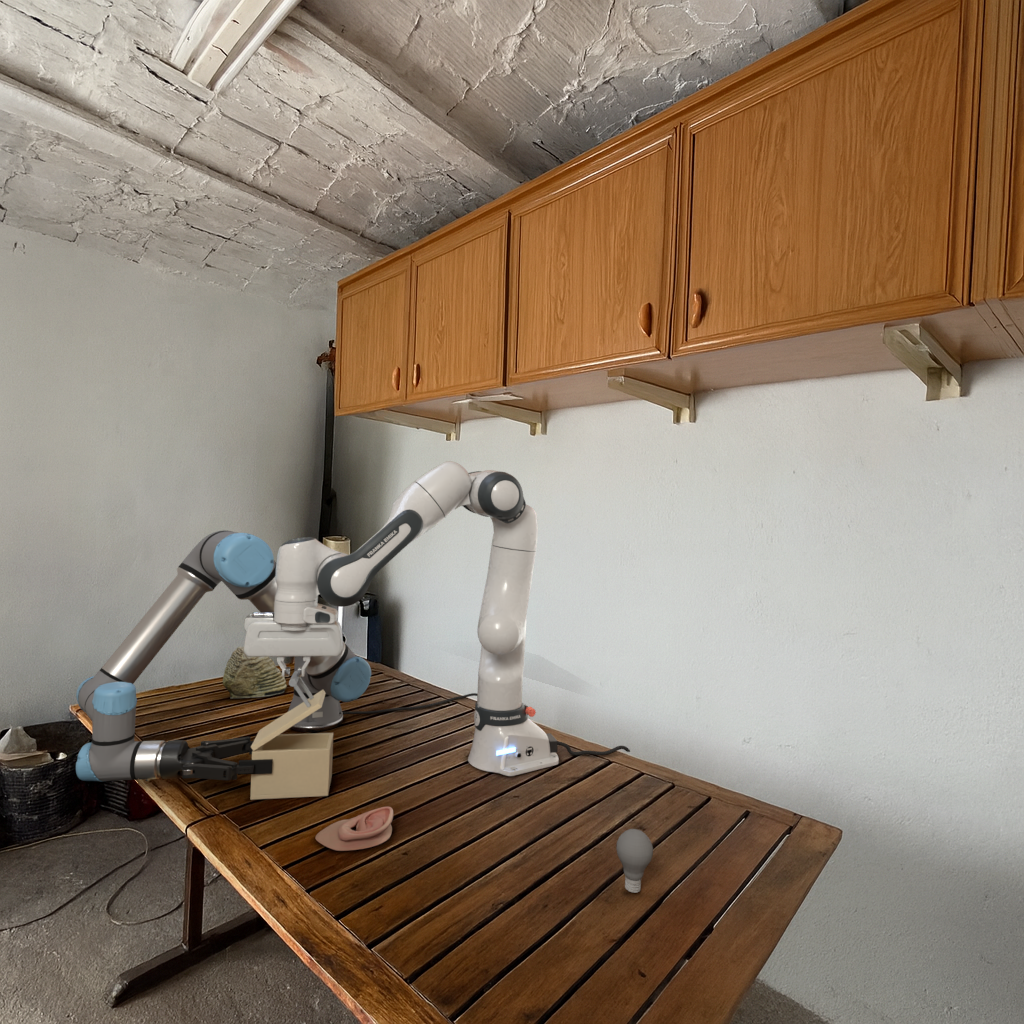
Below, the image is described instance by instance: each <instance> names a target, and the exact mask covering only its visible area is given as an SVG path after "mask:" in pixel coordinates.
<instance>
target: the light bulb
mask: <svg viewBox="0 0 1024 1024" xmlns="http://www.w3.org/2000/svg"><path fill="white" fill-rule="evenodd" d="M615 849H616V854H617V857H618V859H619V861H620V863H621V865H622V867H623V873H624V874H623V875H624V876H625V878H624V888H625V890H627V891H628V892H630V893H634V894H635V893H639V892H640V891H641V889H642V887H641V886H642V879H643V877H644V875H645V871H646V868H647V867H648V866H649V864H650V863H651V861H652V859H653V855H654V847H653V843H652V841H651V838H649V836H648V835H647V834H646V833H645V832H643V831H642V830H641V829H636V828H629V829H627V830H625V831H623V832H622V833H621V834H620V835H619V837H618V839H617V841H616V847H615Z"/></svg>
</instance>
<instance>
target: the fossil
mask: <svg viewBox="0 0 1024 1024" xmlns="http://www.w3.org/2000/svg"><path fill="white" fill-rule="evenodd" d="M222 676H223V677H222V685H223V687H224V688H225V690H226V691H228V693H229V698H230V699H250V698H264V697H271V696H275V695H281V694H284V693H285V691H286V689H287V687H288V686H287V680H286V677H282V671H281V669H279V668H278V667H277V665H276V663H275V662H274V660H273V659H272V657H248V656H246V654H245V653H244V646H238V647H237V648H236V649H235V650H233V651H232V653H231V656H230V657H229V659H228V660H227V663H226V666H225V668H224V671H223V675H222Z"/></svg>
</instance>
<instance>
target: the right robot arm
mask: <svg viewBox="0 0 1024 1024" xmlns="http://www.w3.org/2000/svg"><path fill="white" fill-rule="evenodd" d="M461 507H463V508H464V509H465V510H467V511H469V512H471V513H473V514H477V515H479V516H481V517H486V518H490V520H491V522H492V526H493V534H492V540H491V547H490V554H489V561H488V568H487V573H486V574H487V575H486V579H485V585H484V589H483V595H482V599H481V600H482V601H481V605H480V611H479V615H478V616H479V617H478V622H477V628H476V629H477V631H476V632H477V638H478V640H479V643H480V646H481V647H480V657H479V664H478V671H477V672H478V674H477V676H478V677H477V696H476V697H477V698H476V702H475V704H474V713H473V720H474V721H473V722H474V723H473V724H474V733H473V739H472V743H471V747H470V751H469V754H468V757H467V762H468V763H469V764H470V765H471V766H472V767H473V768H475V769H478V770H480V771H484V772H487V773H488V772H489V773H496V774H500V775H503V776H506V777H515V776H519V775H523V774H526V773H531V772H535V771H537V770H542V769H546V768H550V767H553V766H558V765H559V763H560V759H559V755H558V754H557V753H558V747H559V746H561V747H564V748H565V749H566V751H567V753H568V754H569V755H571V756H576V757H577V756H583V755H593V756H607V755H608V756H609V755H610V754H614V753H615V752H617V751H619V750H623V751H625V752H626V753H630V752H631V749H630V748H628V747H627V746H625V745H618V746H615V747H613V748H611V749H609V750H604V751H598V750H597V751H596V750H579V751H573V750H572V749H571V747H570V745H568V744H567V743H565V742H562V741H559V740H557V738H555V736H554V735H553V734H552V733H551V732H550V733H549V732H548V733H546V732H545V730H544V729H542V728H541V727H540V726H539V725H538V724H536V722H534V721H533V720H531V719H530V718H534V717H535V715H536V713H537V712H536V709H535V708H533V707H532V706H529V705H528V704H526V703H524V702H523V687H524V684H523V683H524V667H525V654H526V653H525V652H526V638H527V637H526V636H527V614H528V607H529V600H530V594H531V588H532V583H533V575H534V568H535V561H536V554H537V546H538V528H539V525H538V524H539V523H538V514H537V512H536V510H535V509H534V508H533V507H532V506H530V505H528V504H527V503H526V499H525V497H524V491H523V488H522V485H521V483H520V482H519V480H518V479H517V478H516V477H515V476H514V475H512V474H510V473H508V472H506V471H500V470H493V469H488V470H487V469H486V470H483V471H481V470H478V471H477V470H476V471H471V472H468V470H467V469H466V468H465V467H464V466H463V465H461V464H460V463H458V462H457V461H453V460H446V461H444V462H442V463H439V464H438V465H436V466H434V467H433V468H431V469H429V470H428V471H426V472H424V474H421V476H419V477H417V479H415V480H414V481H413V482H411V483H410V484H409V485H408V486H407V487H406V488H405V489H404V490H403V491H402V492H401V493H400V494H399V495H398V496H397V498H396V499H395V500H394V501H393V503H392V506H391V511H390V513H389V517H388V519H387V521H386V522H385V523H384V524H383V526H382V527H381V528H380V529H379V530H378V531H376V533H375V534H373V536H371V537H370V538H369V539H368V540H367V541H366V542H365V543H363V544H362V545H361V546H360V547H359V548H358V549H357V550H355V551H354V552H351V553H349V554H348V553H346V552H342V551H339V550H336V549H333V548H331V547H329V546H328V545H325V544H324V543H322V542H321V541H319V540H318V539H317V538H315V537H311V536H306V537H305V536H304V537H296V538H292V539H288V540H285V541H284V542H283V543H282V544H281V545H280V546H279V548H278V551H277V555H276V561H275V562H276V575H275V580H276V583H277V592H276V595H275V602H274V612H264V613H261V612H260V611H254V612H252V613H250V614H248V615H247V616H246V617H245V618H244V621H243V629H244V631H245V637H244V644H243V647H244V653H245V654H246V656H248V657H269V658H273V657H276V663H277V664H278V666H279V667H280V670H281V673H282V677H285V678H290V676H291V666H287V664H286V662H285V659H286V657H294V656H303V661H305V663H304V665H303V666H302V667H298V669H297V677H304V676H305V668H306V666H307V665H308V663H309V662H310V660H311V656H339V655H340V654H341V653H342V651H343V641H344V638H343V637H344V636H343V629H342V625H341V623H340V622H339V621H338V618H339V611H338V609H336V608H334V607H342V608H343V607H349V606H352V605H354V604H356V603H358V602H359V601H360V600H361V599H362V598H363V597H364V596H365V594H366V593H367V591H368V589H369V587H370V585H371V583H372V581H373V579H374V578H375V577H376V575H377V574H378V573H379V572H380V571H381V570H382V569H383V568H385V566H386V565H387V564H388V563H390V562H391V561H392V560H393V559H394V558H395V557H396V556H397V555H398V554H400V552H402V551H403V550H404V549H405V548H406V547H408V545H410V544H411V543H412V542H414V541H416V539H418V538H420V537H421V536H423V535H425V533H428V532H429V531H431V530H432V529H433V528H435V527H436V526H437V525H439V524H440V523H441V522H442V521H444V520H445V519H446V518H447V517H448V516H449V515H450V514H452V513H453V511H455V510H456V509H458V508H461ZM319 595H320V596H321V598H322V600H324V601H325V602H326V603H327V604H330V605H332V606H334V607H331V606H328V605H325V604H322V603H318V601H319ZM529 717H530V718H529Z"/></svg>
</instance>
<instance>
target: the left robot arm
mask: <svg viewBox="0 0 1024 1024" xmlns="http://www.w3.org/2000/svg"><path fill="white" fill-rule="evenodd" d="M276 562H277V561H276V560H275V556H274V553H273V550H272V549H271V546H269V544H268V543H267V542H266V541H265V540H263V539H262V538H260V537H259V536H256V535H254V534H252V533H249V532H247V533H246V532H237V531H232V530H227V529H226V530H225V529H224V530H217V531H214V532H211V533H210V534H207V535H205V536H204V537H203V538H202V539H201V540H200V541H198V543H197V544H196V545H195V546H194V547H193V549H192V550H191V551H190V552H189V553H188V554H187V556H186V557H185V558H184V559H183V560H182V561H181V563H180V564H179V565H178V566H177V568H176V571H177V572H176V573H177V574H176V576H175V577H174V579H173V580H172V581H171V582H170V583H169V585H168V586H167V587H166V588H165V590H164V591H163V592H162V593H161V594H160V596H159V597H158V598H157V599H156V601H155V602H154V603H153V604H152V606H151V607H150V608H149V609H148V610H147V611H146V613H145V614H144V615H143V617H142V618H141V619H140V620H139V622H138V623H137V624H136V625H135V627H133V628H132V630H131V631H130V632H129V633H128V635H126V637H125V639H124V640H123V641H122V642H121V644H120V645H119V646H118V647H117V648H116V649H115V651H114V652H113V653H112V655H111V656H110V657H109V658H108V659H107V660H106V661H105V663H104V664H103V666H102V667H101V668H100V669H99V670H98V671H97V672H96V673H95V675H92V676H90V677H88V678H85V680H82V682H81V683H80V684H79V686H78V687H77V689H76V694H75V698H76V701H77V705H78V707H79V709H81V710H82V711H83V712H84V713H85V714H86V715H87V716H88V718H89V719H90V720H91V724H92V725H91V726H92V727H91V728H92V735H91V742H86V743H85V744H83V745H82V747H81V749H80V750H79V751H78V754H77V760H76V762H75V773H76V777H77V778H78V779H79V780H81V781H84V782H100V783H104V782H105V783H106V782H119V781H133V780H134V781H142V780H145V781H146V782H150V781H151V780H159V779H160V778H161V779H163V780H177V779H181V778H182V779H201V780H202V779H203V780H216V781H236V780H238V776H240V775H241V776H242V775H251V774H271V773H272V762H273V759H263V760H252V759H239V760H238V762H236V761H231V760H226V759H225V758H229V757H234V756H238V755H243V754H244V755H245V754H248V755H251V756H252V751H253V750H252V748H251V745H252V743H253V742H254V740H251V738H252V737H251V736H244V737H235V738H226V739H217V740H202V741H200V745H199V746H195V747H190V746H189V743H188V742H187V740H186V739H185V740H184V739H179V740H174V739H173V740H168V741H166V740H139V741H138V740H137V741H136V740H135V736H136V717H137V715H136V714H137V703H138V698H137V688H136V686H135V682H136V681H137V680H138V679H139V677H140V676H141V675H142V674H143V672H144V671H145V670H146V668H148V666H149V665H150V664H151V662H152V661H153V660H154V659H155V657H156V656H157V655H158V654H159V652H160V651H161V650H162V648H163V647H164V646H165V645H166V643H167V642H168V641H169V640H170V638H171V637H172V636H173V634H174V633H175V632H176V631H177V630H178V628H179V627H180V626H181V625H182V624H183V622H184V621H185V619H186V618H187V617H188V615H189V614H190V613H192V611H193V609H194V608H195V607H196V606H197V604H198V603H199V601H201V599H202V598H203V597H204V595H205V594H206V593H209V592H213V591H214V590H215V589H216V588H217V586H218V585H219V584H220V583H221V582H222V583H223V584H224V585H225V586H226V587H227V588H228V589H229V590H230V592H231V593H232V594H233V595H234V596H235V597H236V598H237V599H238V600H241V601H242V600H243V601H244V600H245V601H246V600H248V601H249V602H250V603H251V604H252V605H253V606H254V608H256V610H258V612H259V613H264V612H274V602H275V595H276V592H277V583H276V580H275V575H276ZM293 658H294V671H293V673H294V672H295V671H297V669H298V667H302V666H303V665H304V663H305V661H303V656H293ZM371 677H372V668H371V666H370V664H369V662H368V661H367V660H365V658H363V657H362V656H357V655H356V654H355V653H354V651H352V649H351V648H350V647H349V646H348V645H347V644H346V643H345V641H344V640H343V651H342V653H341V654H340V655H339V656H311V660H310V662H309V663H308V665H307V666H306V668H305V676H304V677H301V679H302V680H303V682H304V683H305V685H306V686H307V688H308V689H309V691H310V692H311V694H312V695H313V696H314V695H315V694H317V693H318V692H320V691H321V690H324V691H325V693H326V694H325V697H324V701H323V704H322V707H321V708H320V709H318V710H317V711H315V712H314V713H312V714H310V715H309V716H307V717H306V718H304V719H303V720H301V721H300V722H298V723H296V724H295V725H293V726H292V727H290V728H289V729H288V730H291V731H294V732H295V731H296V732H301V733H319V732H325V731H329V730H332V729H335V728H337V727H339V726H340V725H342V723H343V722H344V715H372V714H373V715H374V714H382V713H389V712H397V711H410V710H420V709H426V708H431V707H434V706H438V705H443V704H445V703H449V702H452V701H455V700H460V699H465V698H468V697H477V693H478V692H477V693H476V692H473V693H467V694H463V695H457V696H453V697H450V698H448V699H444V700H441V701H437V702H433V703H428V704H423V705H416V706H405V707H392V708H386V709H378V710H369V711H364V710H363V711H361V710H360V711H357V710H353V711H352V710H351V711H343V709H342V706H341V702H343V703H350V702H353V701H356V700H357V699H359V698H360V697H361V696H362V695H363V694H364V693H366V690H367V689H368V688H369V686H370V682H371ZM297 685H298V686H299V688H300V689H301V691H302V692H303V694H304V695H305V697H306V698H307V699H309V696H308V695H307V693H306V692H305V690H304V689H303V688H302V686H301V685H300V683H299V682H297ZM292 696H293V697H292V699H291V702H290V704H289V708H288V711H287V712H289V711H290V710H292V709H293V708H295V707H296V706H298V705H299V704H301V703H303V702H304V701H303V700H302V698H301V697H300V695H299V694H298V692H297V691H296V689H295V688H294V687H293V695H292Z"/></svg>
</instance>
